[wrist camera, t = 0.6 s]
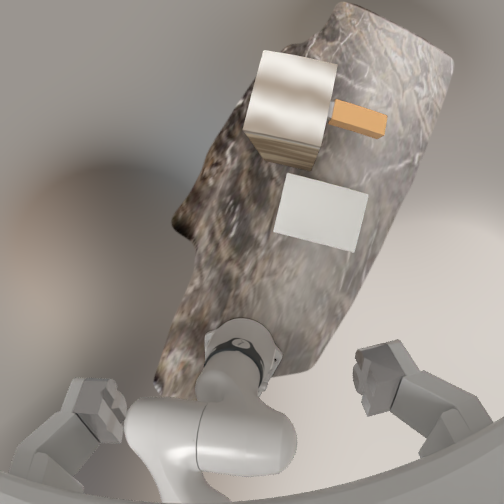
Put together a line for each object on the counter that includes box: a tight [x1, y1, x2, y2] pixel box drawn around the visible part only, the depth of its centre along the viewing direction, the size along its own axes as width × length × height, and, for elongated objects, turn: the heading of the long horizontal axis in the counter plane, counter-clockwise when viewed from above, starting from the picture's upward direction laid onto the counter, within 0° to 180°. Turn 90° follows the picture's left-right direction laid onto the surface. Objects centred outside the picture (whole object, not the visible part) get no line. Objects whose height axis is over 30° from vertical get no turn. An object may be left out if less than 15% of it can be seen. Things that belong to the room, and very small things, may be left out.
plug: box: [327, 99, 387, 139], centre depth 39 cm, size 3×13×3 cm, turn 77°
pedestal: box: [273, 173, 369, 253], centre depth 59 cm, size 10×14×16 cm
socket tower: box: [243, 50, 337, 171], centre depth 51 cm, size 12×10×28 cm
